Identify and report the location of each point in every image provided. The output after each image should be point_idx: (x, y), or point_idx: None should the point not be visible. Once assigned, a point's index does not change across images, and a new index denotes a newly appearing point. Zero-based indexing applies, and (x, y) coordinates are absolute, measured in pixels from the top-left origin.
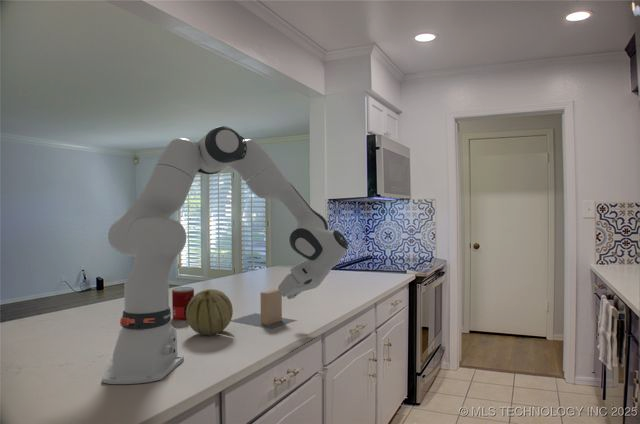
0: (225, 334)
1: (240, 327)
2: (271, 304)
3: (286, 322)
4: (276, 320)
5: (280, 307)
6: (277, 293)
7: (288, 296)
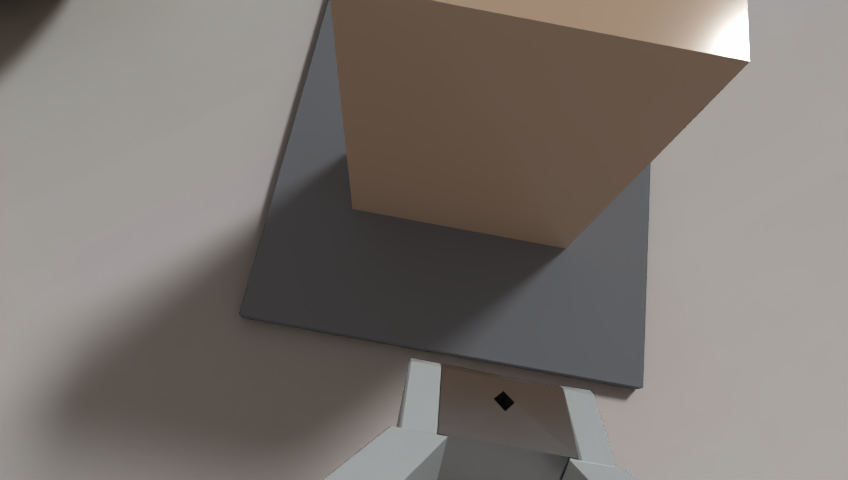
0: (23, 28)
1: (254, 32)
2: (432, 123)
3: (515, 330)
4: (488, 228)
5: (593, 192)
6: (608, 68)
7: (399, 413)
